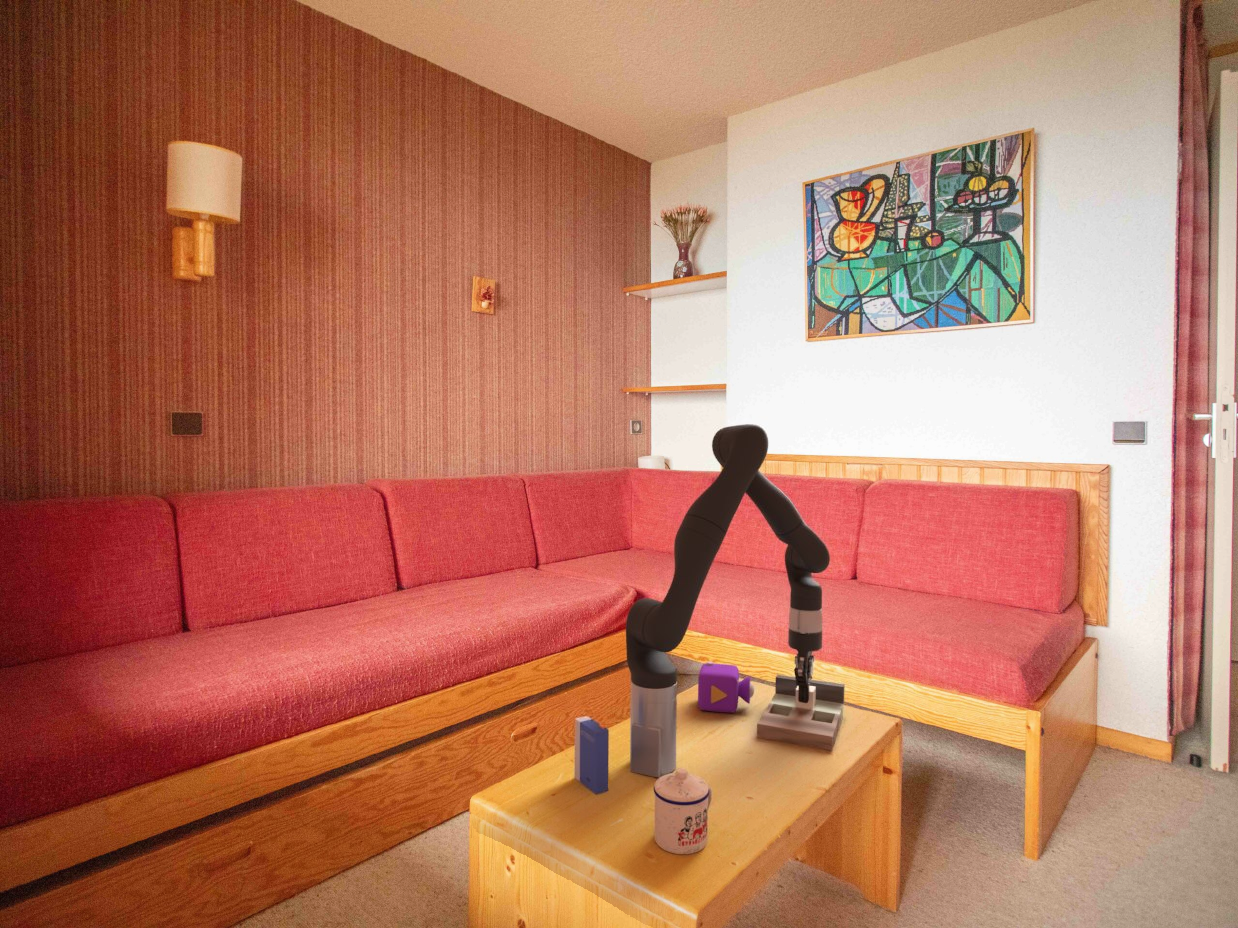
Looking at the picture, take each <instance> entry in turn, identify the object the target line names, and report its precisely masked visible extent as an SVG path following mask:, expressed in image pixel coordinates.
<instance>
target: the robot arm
mask: <svg viewBox="0 0 1238 928" xmlns="http://www.w3.org/2000/svg"><path fill="white" fill-rule="evenodd" d="M711 442H712V443H711V448H712V449H711V450H712V454H713V456H714V458H715V459H716V461H717V462H718V463H719V464H720V466H721V467H722V469H721V471H720V473H719V475H718V476H717V477H716V479H715V480H714V481H713V482H712V483H711V484H710V485H709V486H708V487H707V488H706V489H705V491H703V492H702V493H701V494H700V496H698V497H697V498H696V500H694V501H693V503H691V505H690V507H689V508H688V509H687V512H685V515H684V517H683V519H682V521H681V523H680V525H679V527H678V530H677V531H676V534H675V537H674V546H673V549H674V551H673V553H674V554H673V557H674V558H673V559H674V571H673V577H672V581H671V582H670V583H671V584H670V585H669V588H668V591H667V592H666V595H665V596H664V599H663V600H662V601H661V600H660V601H659V600H657V599H653V598H649V597H648V598H647V597H644V598H640V599H638V600H636V601H635V602H634V603H633V604H632V605H631V607H630V609H629V610H628V613H627V617H626V620H625V621H626V622H625V647H626V663H627V667H628V669H629V672H630V721H629V722H630V729H629V730H630V732H629V733H630V739H629V741H630V743H629V744H630V745H629V746H630V747H629V750H630V755H629V756H630V757H629V760H630V761H629V762H630V763H629V764H630V767H629V768H630V772H631V773H635V774H640V775H644V776H649V777H654V778H658V779H659V778H660V777H662V776H664V775H666V774H670V773H673V771H675V769H676V767H677V715H678V714H677V711H678V710H677V706H678V705H677V703H678V702H677V701H678V700H677V698H678V697H677V696H678V670H677V666H676V665H675V664H674V663H673V661H671V659H670V658H669V657H668V655H667V653H670V652H672V651H674V650H675V649H677V647H679V646H680V645H681V642H682V641H683V639H684V638H685V635H686V633H687V630H688V628H689V625H690V623H691V620H692V616H693V614H694V610H695V607H696V605H697V602H698V600H699V596H700V593H701V590H702V588H703V585H704V583H705V581H706V578H707V576H708V574H709V572H710V569H711V567H712V564H713V563H714V560H715V558H716V556H717V554H718V552H719V551H720V548H721V546H722V545H723V541H724V539H725V537H726V536H727V533H728V530H729V528H730V526H731V523H732V521H733V519H734V517H735V514H736V513H737V511H738V508H739V506H740V504H741V502H742V500H743V498H744V496H745V494H746V495H747V497H748V498H749V499H750V500H751V501H752V503H753V504H754V505H755V506H756V508H757V509H758V510H759V511H760V513H761V515H762V516H763V518H764V520H765V521H766V522H767V524H768V525H769V527H770V529H771V530H772V531H773V533H774V535H775V536H776V538H777V539H778V540H779V541H780V542H782V543H783V544H786V545H787V546H786V549H785V552H784V566H785V569H786V570H785V571H786V575H787V579H788V583H789V584H788V585H789V587H790V597H789V599H790V601H789V603H790V604H789V605H790V607H789V614H788V636H787V638H788V639H787V641H788V643H787V645H788V646H789V648H791V649H792V650H795V651H797V653H796V655H795V656H794V665H795V667H794V669H793V671H794V677H795V679H796V685H797V686H799V692H798V701H799V702H802V703H808V701H809V686H810V684H811V681H810V680H813V674H814V662H815V657H816V656H815V655H814V654H813V652H818V651H820V650H821V649H822V647H823V625H824V624H823V622H824V621H823V607H822V606H823V605H822V604H823V589H822V586H821V584H820V583H819V582H817V581H815V580H814V578H813V574H820V573H823V572H825V571H826V570H827V569H828V567H829V565H830V561H831V558H830V557H831V556H830V551H829V549H828V546H827V544H826V543H825V542H824V541H823V540H822V538H820V537H819V536H818V534H817V533H816V532H815V531H814V530H813V529H812V528H811V527H810V526H808V524H807V523H806V522H805V521H804V519H803V517H802V516H801V514H800V513H799V511H798V510H797V507H796V506H795V504H794V503H793V502H792V500H791V499H790V497H788V496H787V494H785V493H784V492H783V491H782V490H781V489H780V488H778V486H776V484H774V483H772V481H771V480H769V478H767V477H766V476H765V475H764V474H763V472H761V470H760V468H761V467H762V465H763V463H764V461H765V459H766V457H767V454H768V449H769V437H768V434H767V432H766V430H765V429H764V428H763V427H761V426H760V425H758V424H750V423H749V424H747V423H746V424H737V425H731V426H726V427H723V428H720V429H719V430H717V431H716V432H715V433H714V436H713V438H712V441H711Z"/></svg>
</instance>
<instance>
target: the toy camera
mask: <svg viewBox="0 0 1238 928" xmlns="http://www.w3.org/2000/svg"><path fill="white" fill-rule="evenodd" d="M698 673H699V674H698V679H697V680H698V682H697V704H698V708H699V710H702V711H707V712H715V713H716V712H717V713H725V714H726V713H727V714H728V713H731V714H732V713H735V712H736V711H737V709H738V704H739V698H741V700H743V701H744V702H745V703H747V704H748V705H750V702H751V698H752V697H753V696H754V694H755V687H754V684H753V683H752V682H751V676H750V675H748V676H746V677H745V678H744V679H742V680H740V671H739V668H738V666H736V665H735V664H734V665H733V664H726V663H724V664H723V663H714V661H711V660H708V661H707V662H706V663H703V664H702V665H701V666H700V670H699V672H698Z"/></svg>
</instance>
